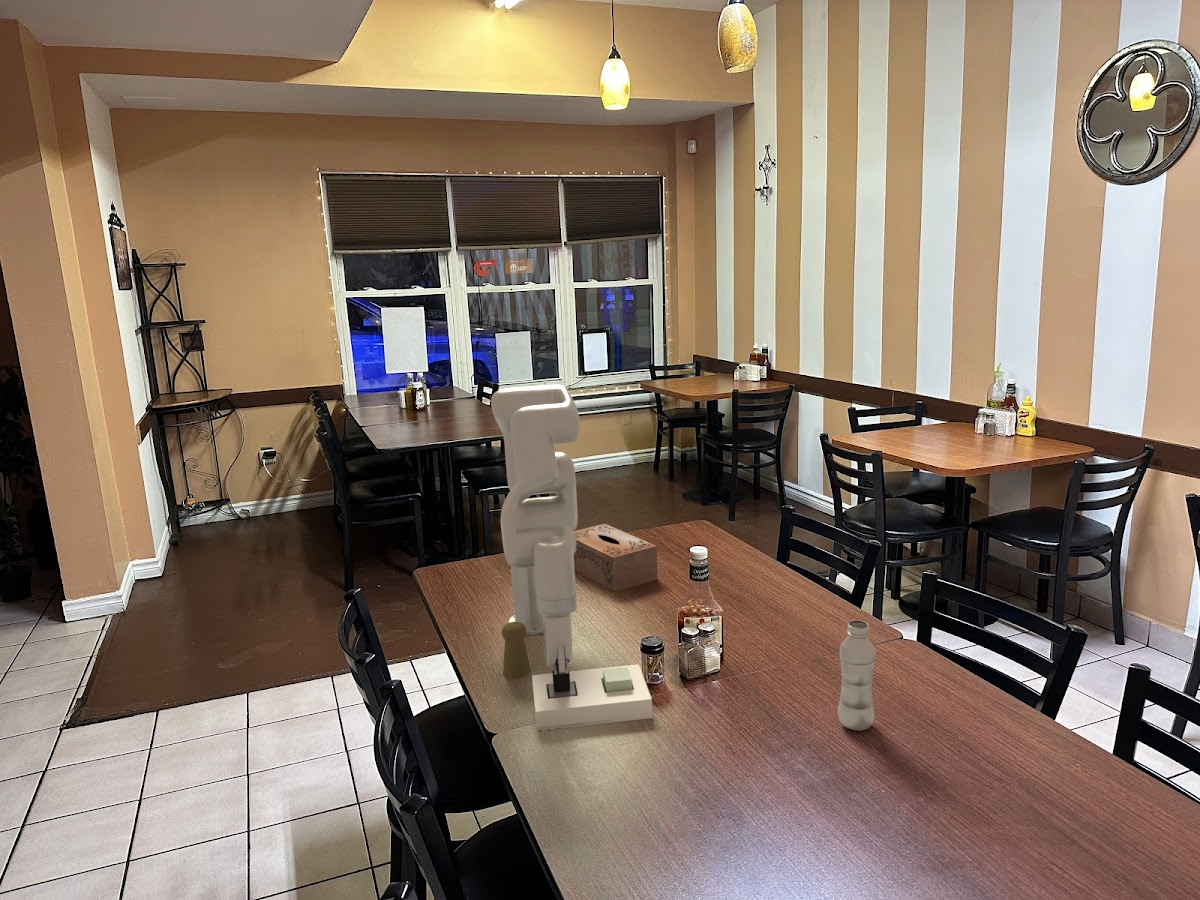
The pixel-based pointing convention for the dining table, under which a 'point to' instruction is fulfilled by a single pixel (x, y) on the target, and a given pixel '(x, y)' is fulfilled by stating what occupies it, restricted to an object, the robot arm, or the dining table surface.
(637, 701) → the key panel
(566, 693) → the charcoal key
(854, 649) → the plastic bottle
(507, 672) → the brown pawn
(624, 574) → the tissue box cover
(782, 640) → the dining table surface
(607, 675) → the sage key
